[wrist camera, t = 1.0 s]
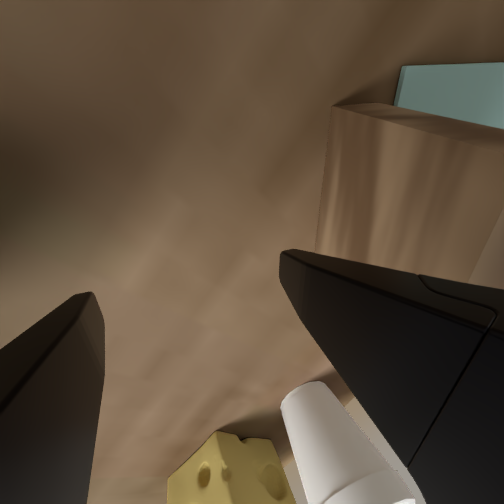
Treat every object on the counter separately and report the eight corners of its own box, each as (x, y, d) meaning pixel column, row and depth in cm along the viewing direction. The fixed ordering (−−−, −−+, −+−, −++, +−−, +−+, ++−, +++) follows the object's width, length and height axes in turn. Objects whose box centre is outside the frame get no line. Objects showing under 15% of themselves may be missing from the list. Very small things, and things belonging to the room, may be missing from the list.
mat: (357, 268, 29) (360, 270, 28) (402, 65, 20) (406, 66, 19) (486, 237, 33) (489, 239, 32) (570, 59, 24) (576, 60, 24)
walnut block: (313, 260, 26) (420, 380, 17) (331, 105, 20) (526, 159, 10) (348, 252, 27) (469, 362, 18) (377, 102, 21) (595, 148, 11)
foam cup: (327, 410, 42) (394, 528, 32) (264, 430, 39) (315, 567, 29) (345, 364, 37) (430, 485, 27) (274, 382, 34) (340, 527, 24)
